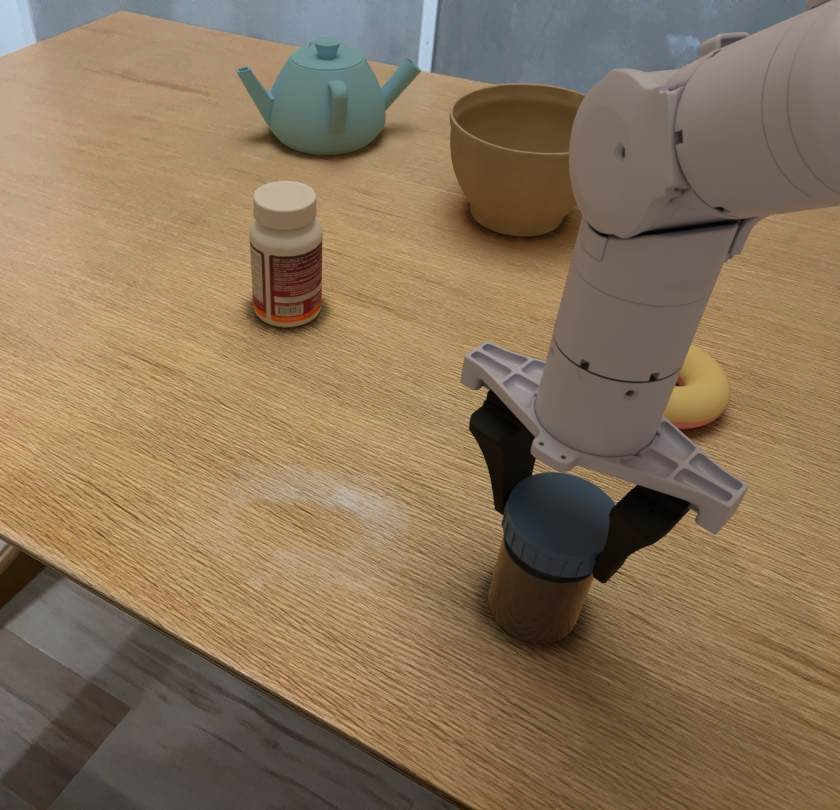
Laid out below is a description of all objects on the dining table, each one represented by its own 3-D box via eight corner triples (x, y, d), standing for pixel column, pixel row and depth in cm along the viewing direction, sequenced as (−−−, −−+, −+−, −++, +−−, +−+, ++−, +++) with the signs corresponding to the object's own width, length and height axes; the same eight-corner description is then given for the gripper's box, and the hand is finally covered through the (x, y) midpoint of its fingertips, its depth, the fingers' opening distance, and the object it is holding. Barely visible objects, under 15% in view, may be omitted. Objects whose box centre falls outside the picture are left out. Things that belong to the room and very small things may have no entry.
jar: (595, 628, 49) (628, 550, 44) (516, 655, 48) (541, 578, 43) (546, 560, 53) (571, 481, 48) (471, 583, 52) (490, 505, 47)
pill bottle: (334, 304, 74) (338, 190, 67) (295, 338, 71) (294, 221, 63) (279, 282, 77) (277, 170, 69) (239, 314, 73) (231, 199, 66)
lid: (478, 531, 46) (483, 510, 45) (542, 476, 49) (548, 455, 48) (573, 599, 43) (581, 578, 41) (635, 535, 46) (645, 514, 45)
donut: (638, 366, 71) (565, 391, 67) (652, 317, 69) (576, 340, 64) (746, 418, 64) (671, 450, 59) (765, 365, 62) (689, 394, 57)
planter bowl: (408, 201, 89) (417, 101, 81) (524, 168, 94) (543, 72, 87) (503, 273, 78) (524, 166, 71) (628, 231, 84) (659, 128, 77)
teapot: (360, 176, 93) (365, 75, 85) (235, 142, 100) (229, 47, 92) (419, 128, 103) (428, 34, 95) (301, 100, 110) (301, 10, 102)
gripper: (436, 309, 39) (410, 500, 48) (733, 472, 31) (635, 664, 40) (524, 255, 42) (485, 442, 51) (811, 388, 35) (705, 582, 44)
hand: (555, 535), depth 46 cm, fingers closed on lid, 6 cm apart
